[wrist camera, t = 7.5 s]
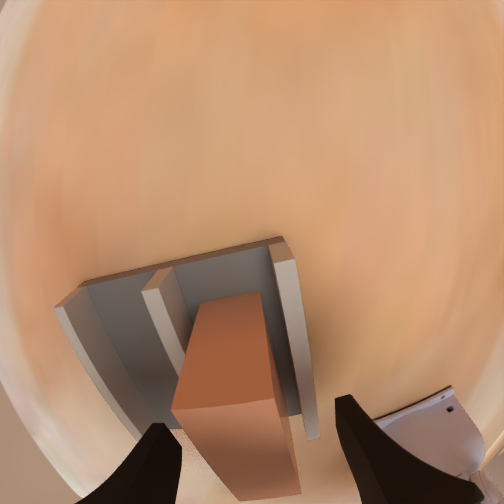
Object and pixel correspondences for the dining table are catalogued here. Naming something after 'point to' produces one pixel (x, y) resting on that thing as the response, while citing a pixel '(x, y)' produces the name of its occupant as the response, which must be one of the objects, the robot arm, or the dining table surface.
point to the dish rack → (184, 328)
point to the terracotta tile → (237, 400)
